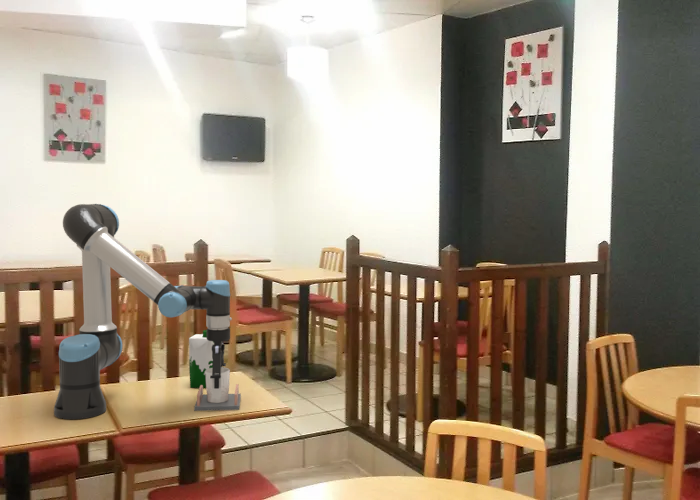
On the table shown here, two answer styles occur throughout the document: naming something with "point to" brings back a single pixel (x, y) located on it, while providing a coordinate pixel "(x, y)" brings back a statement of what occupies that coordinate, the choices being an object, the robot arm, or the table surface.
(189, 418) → the table surface
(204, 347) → the milk carton
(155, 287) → the robot arm
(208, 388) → the white cup
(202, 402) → the end holder
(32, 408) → the table surface
